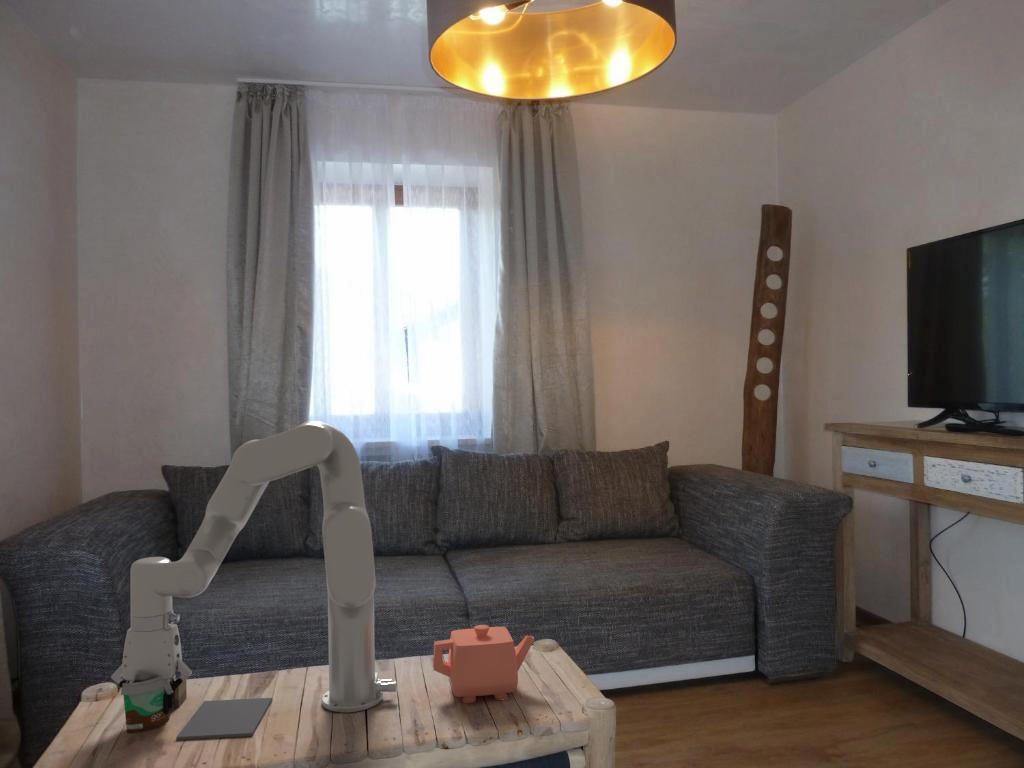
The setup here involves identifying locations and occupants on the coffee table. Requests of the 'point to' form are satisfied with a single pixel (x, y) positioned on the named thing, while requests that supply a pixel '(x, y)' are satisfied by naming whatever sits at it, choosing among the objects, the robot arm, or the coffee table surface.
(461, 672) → the teapot
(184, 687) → the walnut block
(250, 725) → the mat
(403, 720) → the coffee table surface
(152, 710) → the food container
